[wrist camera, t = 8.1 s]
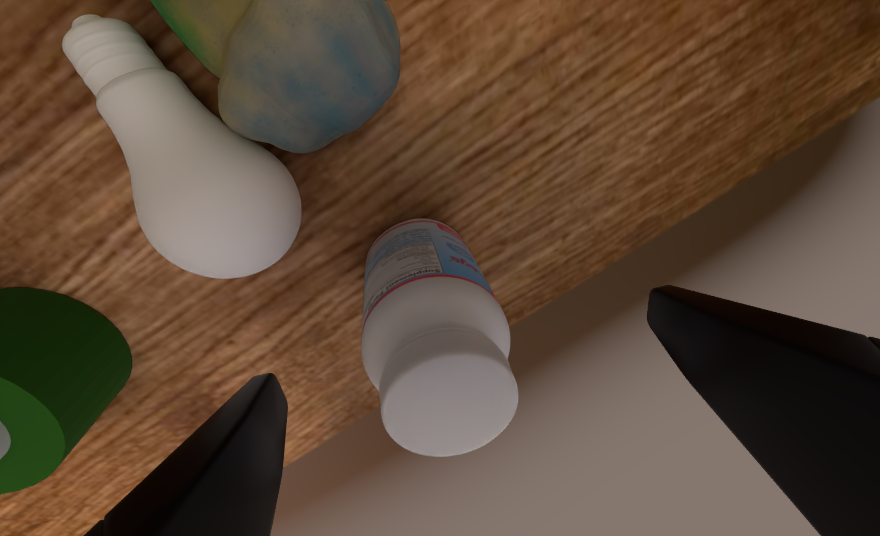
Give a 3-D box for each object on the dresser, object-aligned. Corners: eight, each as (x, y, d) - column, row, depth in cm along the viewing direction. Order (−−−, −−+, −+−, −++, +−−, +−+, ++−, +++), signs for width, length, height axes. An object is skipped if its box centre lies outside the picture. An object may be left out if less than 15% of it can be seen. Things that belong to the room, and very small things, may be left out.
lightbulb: (199, -16, 16) (348, 217, 19) (117, 68, 18) (263, 263, 21) (27, -67, 10) (279, 271, 13) (-59, 63, 12) (175, 325, 16)
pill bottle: (480, 284, 24) (558, 432, 14) (390, 322, 24) (403, 494, 14) (447, 197, 21) (515, 304, 11) (345, 240, 21) (322, 383, 11)
